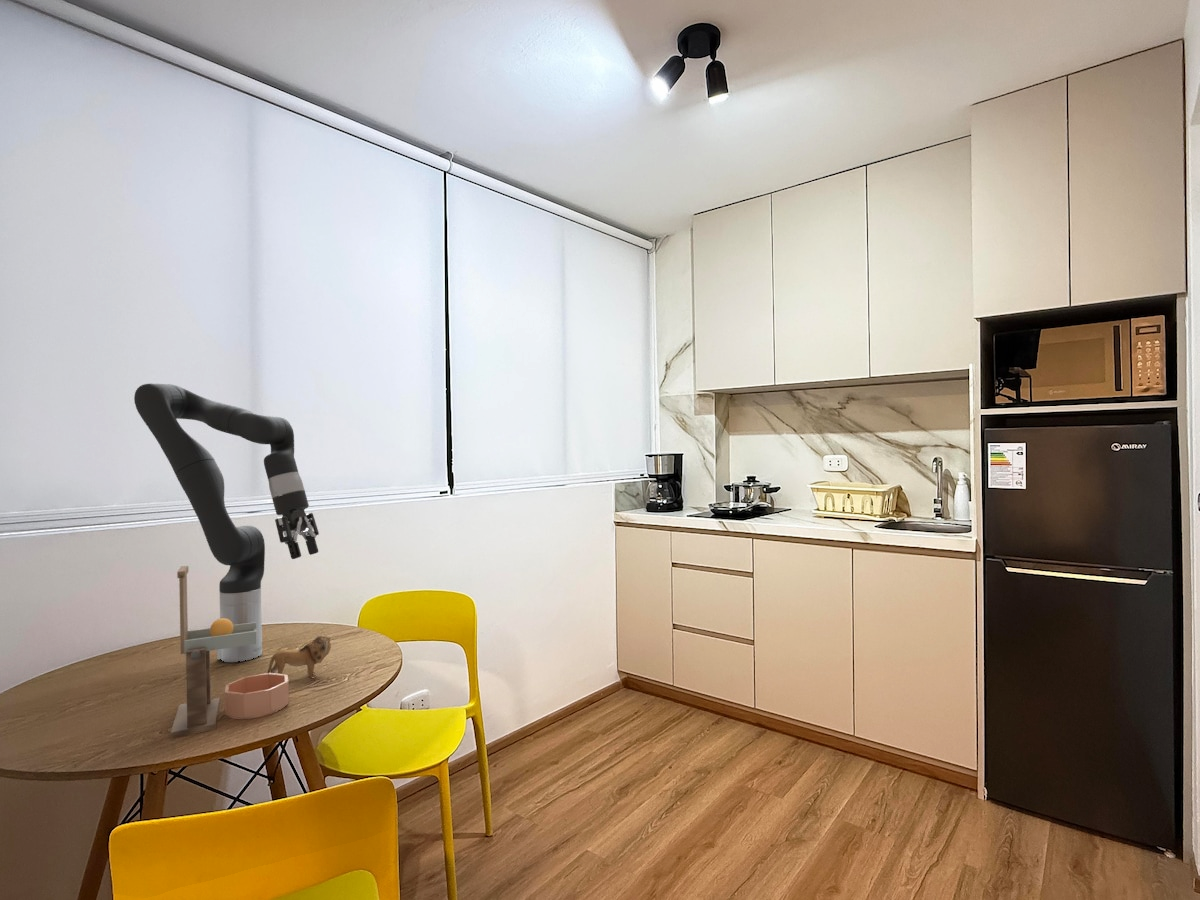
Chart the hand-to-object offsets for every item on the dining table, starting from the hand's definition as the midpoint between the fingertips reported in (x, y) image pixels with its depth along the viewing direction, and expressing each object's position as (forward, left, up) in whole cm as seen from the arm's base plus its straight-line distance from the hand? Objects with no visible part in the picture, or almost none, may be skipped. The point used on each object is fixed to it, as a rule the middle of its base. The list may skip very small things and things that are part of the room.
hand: (305, 555), depth 157 cm
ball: (+4, -31, -9) cm, 32 cm away
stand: (+1, -33, -26) cm, 43 cm away
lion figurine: (+5, -10, -27) cm, 29 cm away
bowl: (+9, -27, -26) cm, 39 cm away
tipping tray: (+4, -31, -12) cm, 34 cm away
